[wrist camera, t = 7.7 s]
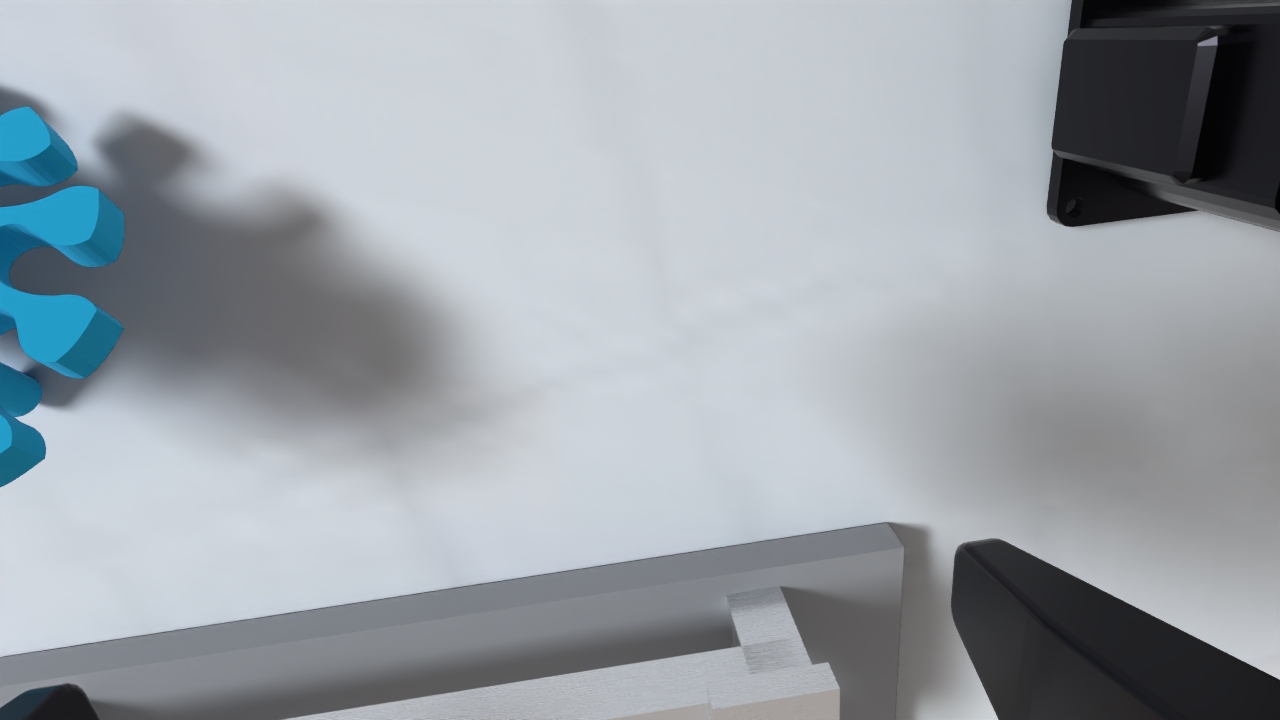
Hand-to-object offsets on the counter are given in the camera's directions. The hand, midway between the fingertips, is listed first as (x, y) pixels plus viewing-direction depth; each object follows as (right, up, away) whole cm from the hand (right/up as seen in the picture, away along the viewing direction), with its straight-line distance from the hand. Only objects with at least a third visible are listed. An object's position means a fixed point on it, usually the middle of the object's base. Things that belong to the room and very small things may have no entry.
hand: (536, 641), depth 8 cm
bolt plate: (-4, -8, +16) cm, 19 cm away
